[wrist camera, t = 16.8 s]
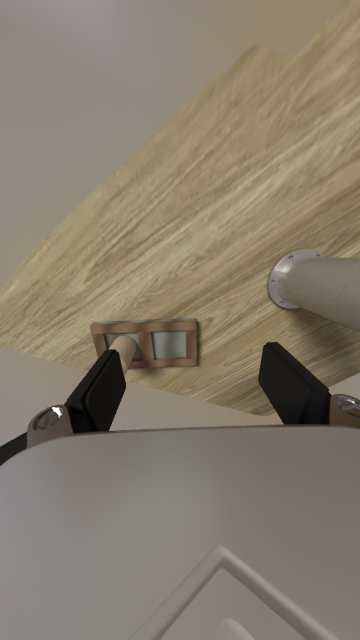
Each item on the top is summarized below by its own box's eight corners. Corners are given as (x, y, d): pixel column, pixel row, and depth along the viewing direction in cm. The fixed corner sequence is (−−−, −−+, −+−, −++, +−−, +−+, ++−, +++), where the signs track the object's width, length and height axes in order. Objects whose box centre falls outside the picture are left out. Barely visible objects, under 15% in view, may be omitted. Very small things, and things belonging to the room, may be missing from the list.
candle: (130, 358, 42) (117, 388, 33) (110, 348, 41) (90, 376, 32) (140, 342, 40) (130, 368, 31) (120, 331, 39) (102, 355, 30)
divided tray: (195, 318, 40) (196, 322, 37) (195, 360, 44) (196, 366, 42) (94, 322, 40) (88, 326, 37) (104, 364, 44) (100, 370, 42)
